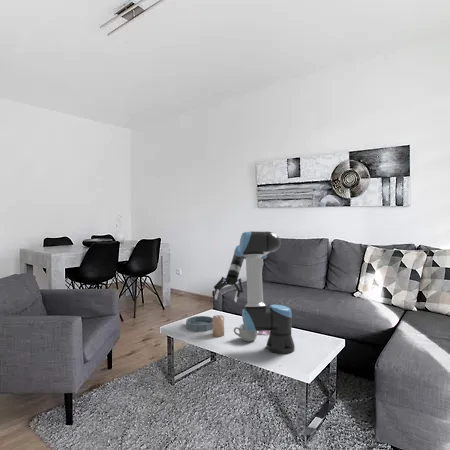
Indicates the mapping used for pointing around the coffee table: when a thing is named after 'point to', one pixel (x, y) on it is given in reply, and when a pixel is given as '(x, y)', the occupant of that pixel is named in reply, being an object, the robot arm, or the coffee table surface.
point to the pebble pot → (218, 326)
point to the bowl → (199, 323)
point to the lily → (265, 332)
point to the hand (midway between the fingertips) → (225, 299)
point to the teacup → (245, 333)
